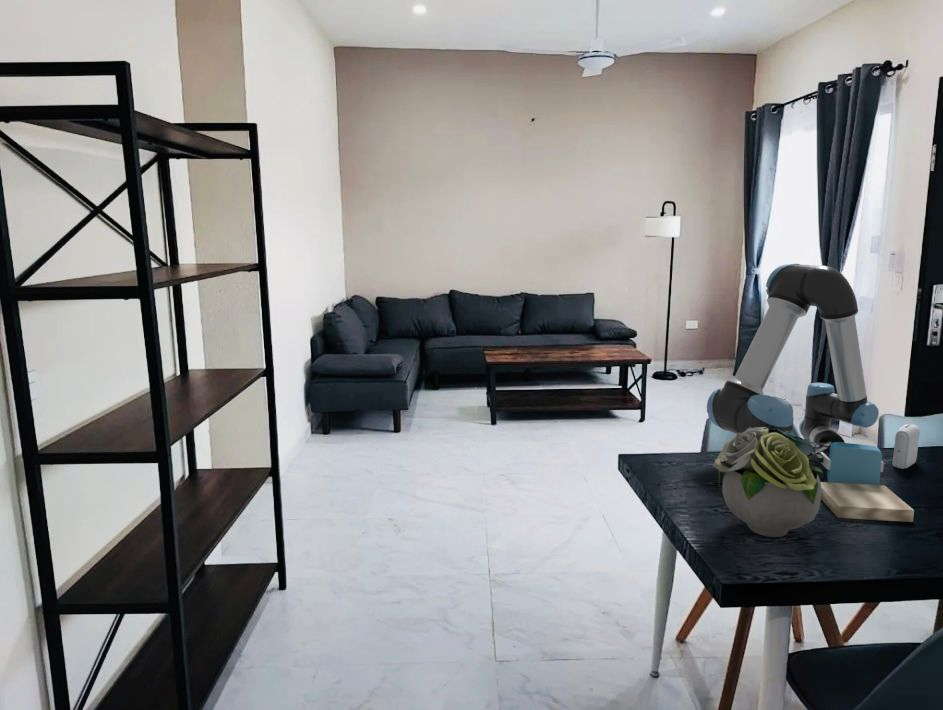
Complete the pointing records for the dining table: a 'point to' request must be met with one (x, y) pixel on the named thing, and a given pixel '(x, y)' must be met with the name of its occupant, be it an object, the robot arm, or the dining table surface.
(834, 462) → the data package
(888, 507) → the birch board
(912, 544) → the dining table surface
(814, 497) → the flower arrangement
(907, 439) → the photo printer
